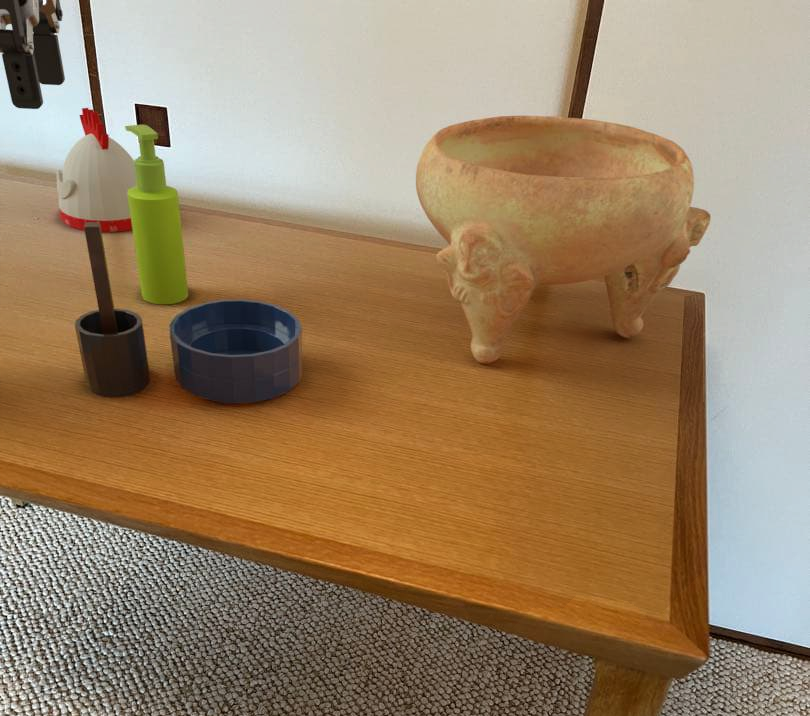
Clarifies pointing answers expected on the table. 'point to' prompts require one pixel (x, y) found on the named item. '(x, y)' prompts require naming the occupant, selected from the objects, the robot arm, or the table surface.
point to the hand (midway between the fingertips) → (40, 95)
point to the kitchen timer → (96, 180)
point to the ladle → (101, 277)
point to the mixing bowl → (236, 350)
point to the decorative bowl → (556, 215)
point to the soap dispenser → (156, 226)
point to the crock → (113, 354)
